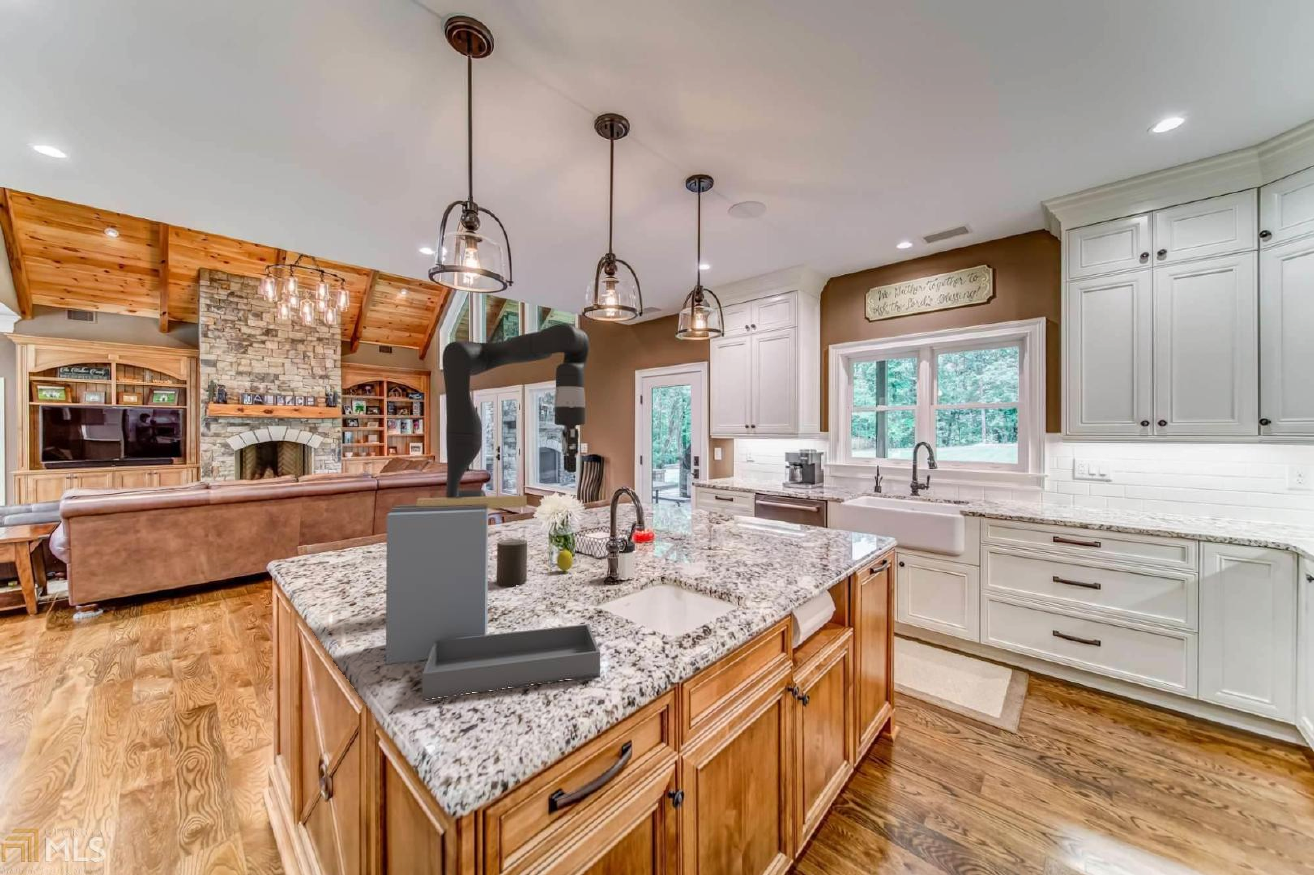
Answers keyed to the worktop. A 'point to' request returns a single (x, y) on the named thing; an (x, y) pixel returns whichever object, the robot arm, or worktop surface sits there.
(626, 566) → the jar
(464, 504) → the light wood thin rod
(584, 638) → the tray
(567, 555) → the lemon
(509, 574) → the pillar candle
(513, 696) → the worktop surface
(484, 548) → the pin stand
